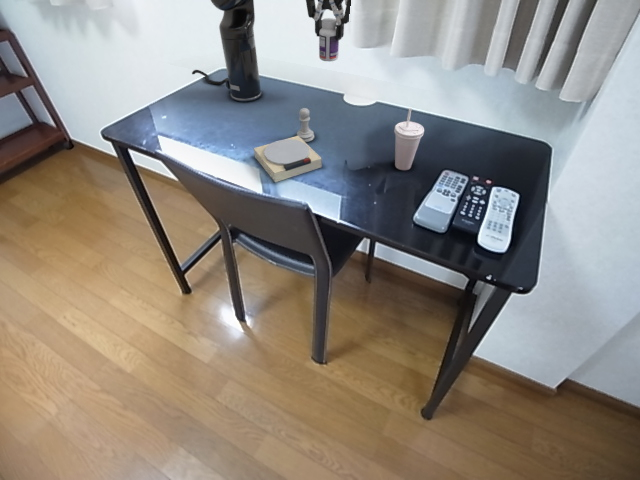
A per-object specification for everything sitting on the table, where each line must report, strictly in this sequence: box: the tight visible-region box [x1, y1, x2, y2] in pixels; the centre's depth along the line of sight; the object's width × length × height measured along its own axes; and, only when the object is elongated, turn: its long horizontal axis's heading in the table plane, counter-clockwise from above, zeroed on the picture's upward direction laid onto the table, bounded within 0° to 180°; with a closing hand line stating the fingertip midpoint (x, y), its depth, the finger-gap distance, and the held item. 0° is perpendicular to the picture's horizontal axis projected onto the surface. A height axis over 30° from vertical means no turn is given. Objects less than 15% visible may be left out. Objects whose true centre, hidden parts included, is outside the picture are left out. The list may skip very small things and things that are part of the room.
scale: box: [253, 135, 323, 183], centre depth 88 cm, size 12×12×3 cm
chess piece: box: [296, 107, 315, 143], centre depth 95 cm, size 5×5×8 cm
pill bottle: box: [318, 17, 340, 62], centre depth 102 cm, size 5×5×10 cm
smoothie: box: [393, 107, 425, 171], centre depth 83 cm, size 6×6×14 cm
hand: (329, 37), depth 102 cm, fingers closed on pill bottle, 5 cm apart
